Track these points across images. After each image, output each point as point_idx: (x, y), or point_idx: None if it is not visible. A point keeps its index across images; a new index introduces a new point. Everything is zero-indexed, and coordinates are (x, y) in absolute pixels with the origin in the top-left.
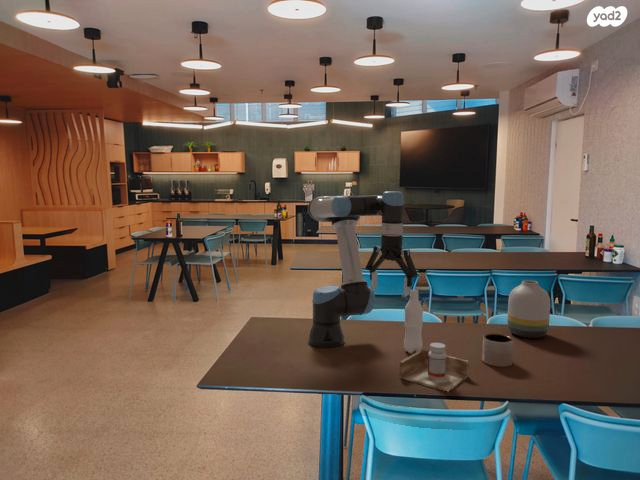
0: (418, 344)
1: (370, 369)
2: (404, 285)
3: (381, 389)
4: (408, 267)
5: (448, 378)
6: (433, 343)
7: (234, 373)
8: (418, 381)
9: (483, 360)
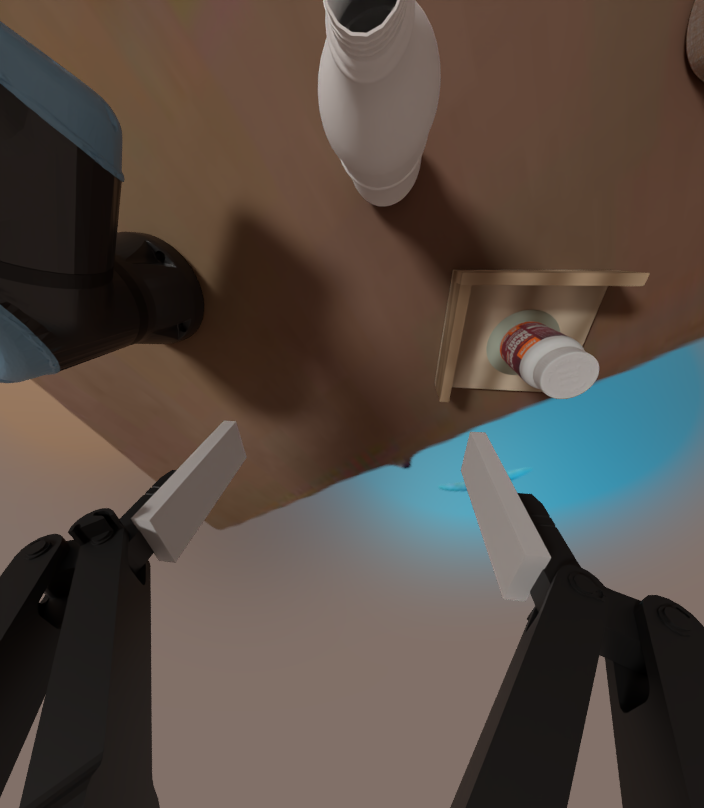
0: (415, 176)
1: (358, 380)
2: (482, 531)
3: (425, 444)
4: (629, 797)
5: None
6: (551, 370)
7: None
8: (484, 388)
9: (694, 64)
